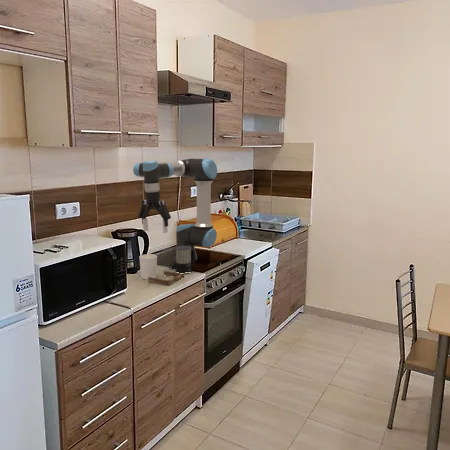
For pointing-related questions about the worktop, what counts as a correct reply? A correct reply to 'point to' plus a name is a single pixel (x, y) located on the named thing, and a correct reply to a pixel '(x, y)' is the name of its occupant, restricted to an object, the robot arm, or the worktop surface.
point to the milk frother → (183, 259)
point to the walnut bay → (167, 282)
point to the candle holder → (148, 266)
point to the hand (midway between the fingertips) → (155, 231)
